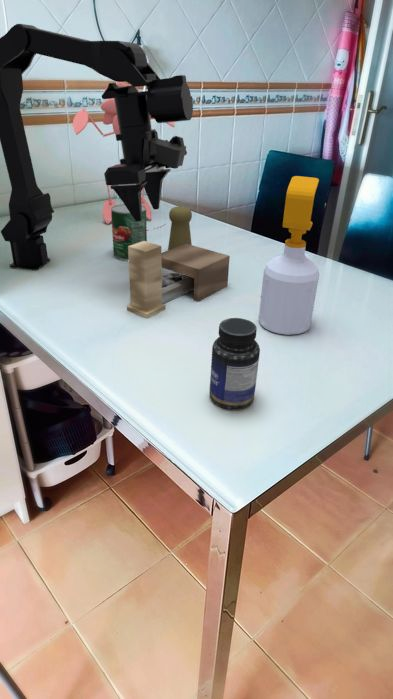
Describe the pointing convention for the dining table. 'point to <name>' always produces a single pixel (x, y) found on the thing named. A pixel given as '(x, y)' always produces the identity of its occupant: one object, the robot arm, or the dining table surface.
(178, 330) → the dining table surface
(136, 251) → the blade tool
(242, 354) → the pill bottle
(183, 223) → the olive pawn figure
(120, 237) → the canned tomato
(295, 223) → the soap bottle
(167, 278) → the steel token
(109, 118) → the pink daisy figurine
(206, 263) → the plinth
